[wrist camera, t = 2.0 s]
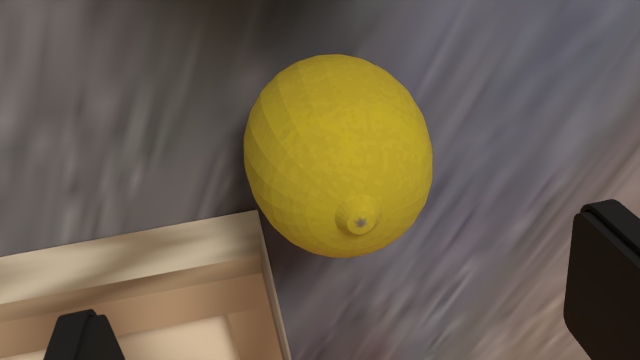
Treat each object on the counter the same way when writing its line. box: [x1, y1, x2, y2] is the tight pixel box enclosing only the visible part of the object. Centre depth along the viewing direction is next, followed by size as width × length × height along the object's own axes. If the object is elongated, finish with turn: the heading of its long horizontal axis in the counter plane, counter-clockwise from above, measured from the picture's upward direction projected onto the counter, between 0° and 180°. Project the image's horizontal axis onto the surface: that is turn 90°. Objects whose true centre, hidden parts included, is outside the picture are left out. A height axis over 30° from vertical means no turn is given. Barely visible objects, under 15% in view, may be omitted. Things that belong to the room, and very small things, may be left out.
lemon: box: [244, 54, 432, 257], centre depth 17 cm, size 6×6×8 cm
